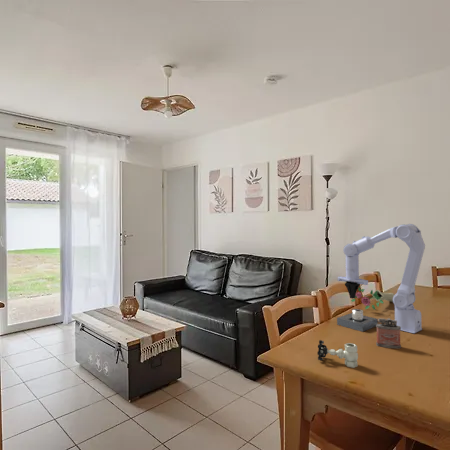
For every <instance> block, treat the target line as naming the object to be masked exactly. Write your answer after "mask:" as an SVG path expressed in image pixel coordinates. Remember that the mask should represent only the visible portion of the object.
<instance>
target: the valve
mask: <svg viewBox="0 0 450 450" xmlns="http://www.w3.org/2000/svg"><path fill="white" fill-rule="evenodd" d="M317 348H318V351H317V356H318V357H317V360H318V361H324V358H326V356H327V355H328V354H330V355H331V356H337V357H338V359H344V365H345V366H346V367H348V368H353V369H355V368H357V367H358V365H359V364H358V363H359V362H358V360H359V359H358V358H359V354H358V345H356V344H355V343H354V342H352V343H351V342H348V343H344V350H343V348H338V350H336V349H334V348H333V349H332V348H331V349H329V348H328V347H327V345H325V340H321V339H319V340H318V345H317Z"/></svg>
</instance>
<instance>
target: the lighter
mask: <svg viewBox="0 0 450 450" xmlns="http://www.w3.org/2000/svg"><path fill="white" fill-rule="evenodd" d="M377 319H378V324H376V346H377V347H381V348H386V349H387V348H388V349H401V348H402V345H401V330H400V329H401V327H400V326H397V320H395V319H392V318H377Z"/></svg>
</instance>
